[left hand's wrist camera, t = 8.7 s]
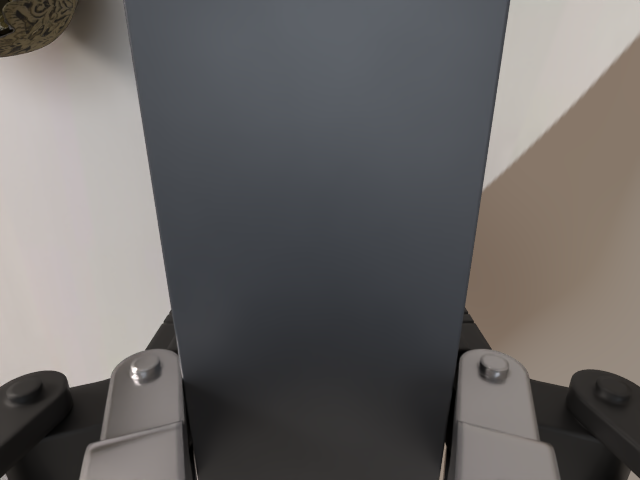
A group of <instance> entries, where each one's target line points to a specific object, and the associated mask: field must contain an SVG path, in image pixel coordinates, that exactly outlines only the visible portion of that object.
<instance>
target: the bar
mask: <svg viewBox="0 0 640 480" xmlns="http://www.w3.org/2000/svg"><path fill="white" fill-rule="evenodd" d="M123 1H124V8H125V14H126V21H127V27H128V34H129V40H130V46H131V53H132V59H133V66H134V72H135V78H136V85H137V91H138V98H139V104H140V111H141V117H142V123H143V130H144V136H145V143H146V149H147V155H148V162H149V168H150V175H151V181H152V188H153V194H154V200H155V207H156V213H157V220H158V226H159V232H160V239H161V245H162V252H163V258H164V265H165V271H166V277H167V284H168V290H169V297H170V303H171V309H172V316H173V322H174V329H175V335H176V342H177V348H178V354H179V361H180V367H181V374H182V380H183V386H184V393H185V399H186V406H187V412H188V419H189V425H190V431H191V438H192V444H193V451H194V457H195V463H196V470H197V476H198V480H439V477H440V471H441V464H442V457H443V450H444V444H445V437H446V430H447V423H448V417H449V410H450V403H451V396H452V390H453V383H454V376H455V369H456V363H457V356H458V349H459V342H460V336H461V329H462V322H463V315H464V309H465V302H466V295H467V288H468V282H469V275H470V268H471V262H472V255H473V248H474V241H475V235H476V228H477V221H478V214H479V207H480V200H481V194H482V187H483V181H484V174H485V167H486V160H487V154H488V147H489V140H490V133H491V127H492V120H493V113H494V106H495V100H496V93H497V86H498V79H499V73H500V66H501V59H502V52H503V46H504V39H505V32H506V25H507V19H508V12H509V5H510V0H123Z"/></svg>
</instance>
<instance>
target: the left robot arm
mask: <svg viewBox="0 0 640 480" xmlns="http://www.w3.org/2000/svg"><path fill="white" fill-rule="evenodd" d="M445 443H446V452H445V461H444V473H443V480H627V479H628V476H629V474H630V471H632V472H634V473H635V474H636V475H637V476H638V477H639V478H640V387H639V386H638V385H636V384H635V383H633V382H631V381H629V380H627V379H625V378H623V377H621V376H618V375H616V374H613V373H609V372H605V371H600V370H590V369H589V370H581V371H578V372H576V373H575V374H574V375H573V376H572V378H571V382H570V385H569V388H568V387H564V386H559V385H554V384H550V383H545V382H540V381H536V380H532V379H529V375H528V372H527V370H526V369H525V367H524V366H523V365H522V364H521V363H520V362H518V361H517V360H516V359H514V358H512V357H511V356H509V355H506V354H504V353H501V352H498V351H494V350H492V349H491V347H490V346H489V344H488V343H487V341H486V340H485V338H484V336H483V335H482V333H481V332H480V330H479V329H478V327H477V325H476V324H475V323H474V321H473V319H472V318H471V316H470V315H469V314H468V311H467V310H466V308H465V309H464V315H463V322H462V329H461V336H460V342H459V349H458V356H457V363H456V369H455V376H454V383H453V390H452V396H451V403H450V410H449V417H448V423H447V430H446V437H445ZM5 473H6V475H7V478H8V480H197V473H196V463H195V457H194V451H193V444H192V438H191V431H190V425H189V419H188V412H187V406H186V399H185V393H184V386H183V380H182V374H181V367H180V361H179V354H178V348H177V342H176V335H175V329H174V322H173V316H172V309H171V311H170V312H169V315H168V316H167V317H166V319H165V320H164V324H162V325H161V326H160V328H159V329H158V331H157V333H156V334H155V336H154V337H153V339H152V340H151V342H150V343H149V345H148V347H147V348H146V350H145V351H142V352H139V353H136V354H134V355H131V356H129V357H128V358H126V359H124V360H123V361H122V362H120V363H119V364H118V365H117V366H116V367H115V369H114V370H113V372H112V375H111V378H110V379H107V380H103V381H99V382H95V383H90V384H86V385H81V386H76V387H72V388H69V385H68V381H67V378H66V376H65V375H64V374H62V373H60V372H57V371H38V372H34V373H30V374H26V375H23V376H21V377H18V378H16V379H13V380H11V381H9V382H8V383H6V384H4V385H3V386H1V387H0V478H1V477H2V476H3V475H4V474H5Z"/></svg>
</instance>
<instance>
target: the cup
mask: <svg viewBox="0 0 640 480" xmlns="http://www.w3.org/2000/svg"><path fill="white" fill-rule="evenodd" d="M77 4H78V0H0V57H8V56H14V55H19V54H24V53H28V52H32V51H34V50H37V49H40V48H42V47H44V46H46V45H48V44H50V43H51V42H53V41H54V40H55V39H56V38H57V37H58V36H59V35H61V33H62V32H63V31H64V30H65V29H66V27H67V26H68V24H69V23H70V21H71V19H72V16H73V14H74V11H75V9H76V7H77Z"/></svg>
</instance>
